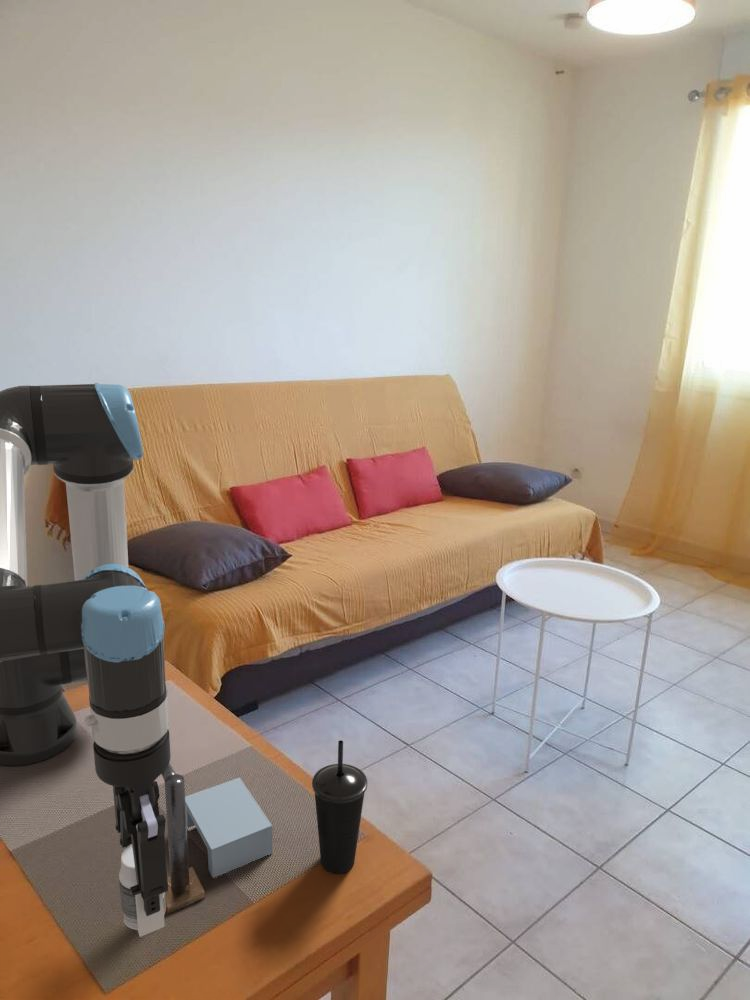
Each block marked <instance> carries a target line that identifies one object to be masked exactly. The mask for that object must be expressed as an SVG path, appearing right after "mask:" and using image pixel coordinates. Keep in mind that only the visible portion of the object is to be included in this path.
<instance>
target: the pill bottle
mask: <svg viewBox="0 0 750 1000" xmlns="http://www.w3.org/2000/svg"><path fill="white" fill-rule="evenodd" d="M123 850H124V851H123ZM123 850H122V851H123V852H122V851H121V856H120V870H119V873H118V882H119V893H120V907H121V916H122V918H121V919H122V921H123V923H124V925H125V926H126V927H128V928H129V929H132V930H135V931H138V924H137V911H136V899H135V896H132V894H131V890H130V887H133V886H134V884H137V879H136V871H135V863H134V856H133V848H132V844H130V845H129V846H127V847H124V849H123ZM163 908H164V915H165V914H166V911H167V910H166V901H165V892H164V893H163Z"/></svg>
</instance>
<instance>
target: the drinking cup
mask: <svg viewBox="0 0 750 1000" xmlns="http://www.w3.org/2000/svg"><path fill="white" fill-rule="evenodd" d="M337 745H338V746H337V747H338V748H337V763H333V764H328V765H326V766H323V767H322V768H320V769H319V770H317V772H315V773H314V775H313V777H312V781H311V786H312V787H311V788H312V790H313V792H314V798H315V799H314V800H315V801H314V802H315V810H316V822H317V834H318V843H319V844H318V845H319V854H320V855H319V856H320V864H321V867H322V868H323V869H324V870H325V871H326V872H328V873H330V874H334V875H340V874H343V875H344V874H345V873H348V872H349V871H350V870H351V869H352V868H354V865H355V861H356V860H355V859H356V853H357V846H358V841H359V832H360V827H361V819H362V811H363V805H364V798H365V792H366V791H367V788H368V778H367V776H366V774H365V773H364V771H363V770H361V769H360V768H358V767H356V766H354V765H351V764H346V763H343V761H344V741H343V740H338V741H337Z"/></svg>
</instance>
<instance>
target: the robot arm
mask: <svg viewBox="0 0 750 1000" xmlns="http://www.w3.org/2000/svg"><path fill="white" fill-rule="evenodd" d="M143 449H144V448H143V443H142V437H141V433H140V426H139V422H138V417H137V413H136V408H135V405H134V401H133V398H132V395H131V392H130V391H129V389H128V388H127V387H125V386H123V385H122V384H106V383H102V384H101V383H99V382H94V383H89V384H88V383H86V384H85V383H83V384H54V385H53V384H52V385H50V384H49V385H48V384H47V385H29V384H28V385H18V386H13V387H7V388H5V389H3V390H0V765H1V766H2V765H3V766H11V767H12V766H15V767H17V766H23V765H24V766H25V765H30V764H35V763H39V762H42V761H44V760H48V759H50V758H51V757H54V756H55V755H57V754H60V753H61V752H63V751H64V750H65V749H67V748H68V747H69V746H70V745H71V744H72V743H73V742H74V741H75V738H76V736H77V733H78V721H77V717H76V715H75V712H74V711H73V709H72V707H71V705H70V704H69V701H68V700H67V698H66V696H65V694H64V692H63V685H68V684H73V683H80V682H84V681H87V686H88V693H89V694H88V695H89V696H88V698H89V707H90V708H89V709H90V712H91V714H90V715H87V716H85V718H84V724H85V725H86V726H88V727H90V726H91V729H92V731H91V732H92V738H93V746H92V748H93V758H94V768H95V774H96V776H97V778H99V780H101V782H103V783H105V784H106V785H109V786H112V790H113V801H114V802H113V803H114V814H115V831H117V833H118V834H120V835H119V837H120V838H119V844H120V846H121V847H122V849H123V848H124V849H125V848H126V847H127V846H129V845H130V844H132V848H133V856H134V863H135V871H136V879H137V884H134V886H133V887H130V890H131V894H132V896H135V899H136V911H137V924H138V930H137V933H138V935H139V937H140V938H141V937H144V936H146V935H148V934H150V933H154V932H156V931H158V930H159V929H162V928H164V927H166V926H165V925H166V924H165V914H164V908H163V893H164V892H167V891H168V883H167V877H168V873H167V872H168V871H167V857H166V856H167V855H166V840H165V839H166V837H165V835H166V834H165V833H166V824H167V819H166V817H165V816H164V814H160V807H159V799H160V789H159V784H158V781H157V779H158V777H160V776H162V775H161V774H162V773H163V772H164V771H165V769H166V768H167V766H168V765H169V763H170V761H171V755H172V754H171V738H170V737H171V736H170V730H169V727H170V715H169V714H170V713H169V712H170V711H169V697H168V690H167V683H166V665H165V664H166V663H165V662H166V661H165V638H164V637H165V636H164V633H165V631H166V627H165V624H166V623H165V621H164V617H163V612H162V604H161V600H160V597H159V595H157V594H156V592H154V591H153V590H148V588H147V587H146V585H145V583H144V581H143V579H142V578H141V577H140V575H139V574H138V573H137V572H136V571H135V570H133V569H132V568H130V567H129V555H128V533H127V532H128V531H127V513H126V494H125V493H126V492H125V479H126V478H128V477H130V476H131V474H132V473H133V471H134V462H135V461H139V460H141V459H142V458H143V457H144V451H143ZM36 465H38V466H46V465H47V466H48V465H52V466H53V473H54V475H55V477H56V478H57V479H58V480H60V481H61V482H63V483H65V490H66V499H67V510H68V522H69V531H70V532H69V533H70V541H71V542H70V543H71V553H72V563H73V574H74V580H70V581H69V580H68V581H63V582H61V581H60V582H54V583H45V584H35V585H28V568H27V567H28V565H27V563H28V562H27V558H28V557H27V536H26V535H27V532H26V531H27V529H26V527H27V526H26V501H25V499H26V498H25V475H26V474H27V472H28V471H29V469H30V467H31V466H36ZM124 849H123V850H121V853H122V852H123V851H124Z"/></svg>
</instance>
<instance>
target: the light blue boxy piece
mask: <svg viewBox="0 0 750 1000" xmlns="http://www.w3.org/2000/svg"><path fill="white" fill-rule="evenodd" d="M185 806H186V825H187V827H188V828H189V827H191V826H194V825H195V826H196V830H197V832H198V834H199V836H200V837H201V839H202V841H203V843H204V845H205V847H206V848H207V862H208V865H207V866H208V872H209V871H210V873H211V875H210V876H212V877H213V878H214V877H215V876H218V875H221V876H223V875H222V874H224V873H225V872H228V871H231V870H233V869H235V870H237V869H236V868H238V867H240V866H241V867H240V868H242V866H243V865H245V864H247V865H249V864H248V863H250V862H252V861H254V862H256V861H255V860H257V859H259V860H261V859H260V858H262V857H264V856H266V857H268V856H267V855H269V856H271V855H273V824H272V823H271V821H270V820H269V818H268V817H267V816H266V814H265V813H264V811H263V809H262V808H261V806H260V805H259V804H258V802H257V801H256V799H255V798H254V796H253V795H252V793H251V792H250V790H249V788H248V787H247V786H246V785H245V783H244V782H243V780H242V778H241V777H237V778H234V779H232V780H231V779H230V780H228V781H225V782H223V783H220V784H218V785H217V784H216V785H214V786H212V787H208V788H206V789H203V790H200V791H197V792H194V793H191V794H189V795H185ZM270 854H271V855H270ZM264 858H265V857H264ZM262 859H263V858H262ZM257 861H258V860H257ZM252 863H253V862H252ZM250 864H251V863H250ZM245 866H246V865H245ZM243 867H244V866H243ZM238 869H239V868H238ZM233 871H234V870H233ZM231 872H232V871H231ZM210 873H209V874H210ZM228 873H229V872H228ZM224 875H225V874H224ZM212 877H211V878H212ZM214 879H215V878H214Z"/></svg>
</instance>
